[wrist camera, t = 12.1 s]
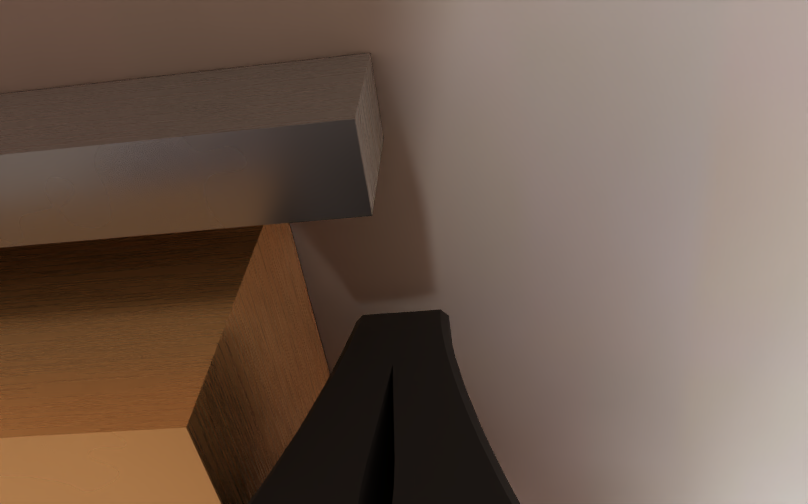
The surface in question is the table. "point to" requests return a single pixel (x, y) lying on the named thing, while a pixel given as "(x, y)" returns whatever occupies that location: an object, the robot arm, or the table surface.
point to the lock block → (153, 366)
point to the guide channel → (190, 152)
